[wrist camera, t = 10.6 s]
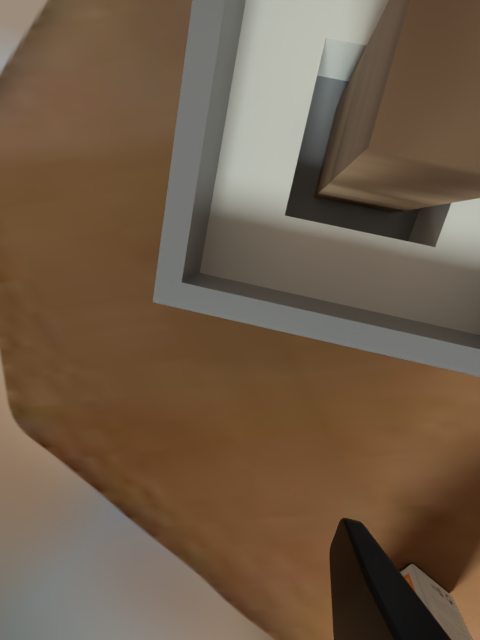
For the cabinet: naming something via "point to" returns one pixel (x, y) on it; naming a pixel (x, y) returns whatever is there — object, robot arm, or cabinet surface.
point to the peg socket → (302, 196)
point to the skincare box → (437, 603)
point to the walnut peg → (410, 112)
